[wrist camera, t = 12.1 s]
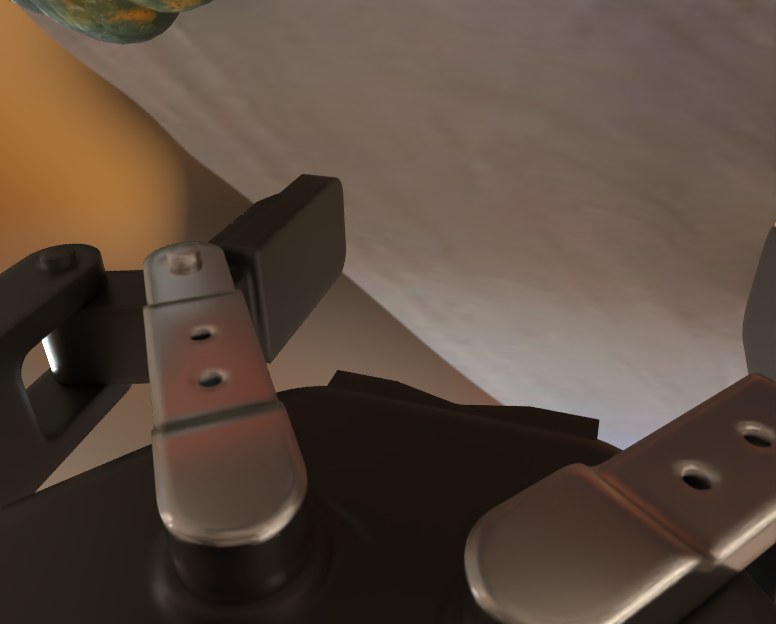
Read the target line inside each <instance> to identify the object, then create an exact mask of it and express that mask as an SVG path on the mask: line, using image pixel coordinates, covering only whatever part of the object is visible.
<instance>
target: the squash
mask: <svg viewBox="0 0 776 624" xmlns="http://www.w3.org/2000/svg"><path fill="white" fill-rule="evenodd" d="M10 1H12V2H14V3H16V4H18V5H20V6H22V7H24V8H26V9H29V10H31V11H33V12H36V13H40V14H44V15H47V16H49V17H50V18H52V19H53V20H55V21H56V22H58V23H59V24H61V25H64V26H66V27H68V28H70V29H72V30H75V31H77V32H80V33H82V34H84V35H87V36H89V37H91V38H93V39H96V40H99V41H103V42H109V43H116V44H131V43H142V42H145V41H148V40H151V39H153V38H154V37H156V36H158V35H160V34H162V33H163V32H164V31H166V30H167V29H168V28H169V27H170V26H171V25H172V23H173V22H174V20H175V19H176V18H177V16H178V15H179V13H180V12H183V11H189V10H192V9H195V8H197V7H199V6H202V5H205V4H207V3H209V2H211V1H212V0H10Z"/></svg>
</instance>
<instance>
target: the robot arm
mask: <svg viewBox="0 0 776 624" xmlns="http://www.w3.org/2000/svg"><path fill="white" fill-rule="evenodd" d="M345 256H346V241H345V222H344V202H343V189H342V184H341V182H340V180H339V179H338V178H336V177H327V176H318V175H309V174H302V175H300V176H299V177H298V178H297V179H296V180H295V181H293V182H292V183H291V184H290V185H289V186H287V187H286V188H285V189H284V190H283V191H282V192H280V193H279V194H275V195H273V196H270V197H268V198H265V199H263V200H261V201H258V202H256V203H255V204H254V205H253V206H251V207H250V208H249V209H248V210H247V211H245V212H244V215H240V216H239V217H238V218H237V219H236V220H234V221H233V224H230V225H228V226H227V227H226V228H225V229H223V230H222V231H221V232H220V233H219V234H217V235H216V236H215V237H214V238H212V239H211V240H210V241H209V242H208V243H206V242H181V243H176V244H171V245H168V246H165V247H162V248H160V249H158V250H155V251H154V252H152V253H151V254H150V255H149V256H147V257H146V258H145V260H144V262H143V270H129V271H105V268H104V264H103V260H102V256H101V253H100V251H99V250H98V249H97V248H95V247H93V246H90V245H85V244H65V245H58V246H53V247H49V248H45V249H42V250H40V251H37V252H35V253H32V254H30V255H29V256H27V257H25V258H24V259H22V260H21V261H20V262H18V263H16V264H15V265H13V266H12V267H10V268H9V269H7V270H6V271H4V272H3V273H1V274H0V624H776V226H773V227H772V228H771V230H770V231H769V234H768V236H767V239H766V242H765V245H764V248H763V252H762V255H761V258H760V262H759V265H758V268H757V272H756V275H755V278H754V282H753V285H752V289H751V292H750V295H749V299H748V302H747V306H746V310H745V315H744V321H743V332H742V335H743V344H744V350H745V356H746V362H747V368H748V374H749V375H748V376H746V377H744V378H743V379H741V380H739V381H738V382H736V383H734V384H733V385H731V386H729V387H728V388H726V389H724V390H723V391H721V392H719V393H718V394H716V395H714V396H713V397H711V398H709V399H708V400H706V401H704V402H703V403H701V404H700V405H698V406H696V407H695V408H693V409H691V410H690V411H688V412H686V413H685V414H683V415H681V416H680V417H678V418H676V419H675V420H673V421H671V422H670V423H668V424H666V425H665V426H663V427H661V428H660V429H658V430H656V431H655V432H653V433H651V434H650V435H648V436H646V437H645V438H643V439H642V440H640V441H638V442H637V443H635V444H633V445H632V446H630V447H628V448H627V449H625V450H621V449H619V448H617V447H615V446H613V445H611V444H609V443H606V442H604V441H601V440H599V439H597V436H598V427H599V419H593V418H588V417H583V416H577V415H572V414H567V413H562V412H556V411H551V410H546V409H541V408H535V407H530V406H491V405H490V406H489V405H460V404H455V403H452V402H449V401H447V400H444V399H441V398H439V397H436V396H434V395H431V394H429V393H426V392H423V391H421V390H418V389H415V388H413V387H411V386H408V385H405V384H402V383H400V382H398V381H393V380H387V379H383V378H377V377H372V376H367V375H361V374H356V373H351V372H346V371H340V370H337V372H336V373H335V375H334V376H333V378H332V379H331V381H330V382H329V384H328V385H327V386H313V387H302V388H295V389H290V390H286V391H281V392H277V393H276V391H275V389H274V385H273V383H272V379H271V376H270V373H269V371H268V368H267V365H266V363H271V362H272V361H273V360H274V358H275V357H276V356H277V355H278V353H279V352H280V351H281V350H282V348H283V347H284V346H285V344H286V343H287V342H288V341H289V339H290V338H291V337H292V336H293V334H294V333H295V332H296V331H297V329H298V328H299V327H300V326H301V324H302V323H303V322H304V320H305V319H306V318H307V317H308V316H309V314H310V313H311V312H312V310H313V309H314V308H315V307H316V305H317V304H318V303H319V302H320V300H321V299H322V298H323V297H324V295H325V294H326V293H327V292H328V290H329V289H330V288H331V287H332V285H333V284H334V283H335V282H336V280H337V279H338V278H339V276H340V274H341V272H342V270H343V266H344V262H345ZM40 341H42V342H43V345H44V348H45V351H46V354H47V357H48V360H49V363H50V366H51V368H49V369H48V370H47V371H46V372H45V373H44V374H43V375H42V376H41V377H39V378H38V379H37V380H36V381H35V382H34V383H33V384H32V385H30V386H29V387H28V388H27V389H26V390H25V387H24V384H23V381H22V377H21V368H22V364H23V361H24V358H25V356H26V355H27V354H28V352H29V351H30V350H31V349H32V348H33V347H35V346H36V345H37V344H38V343H39V342H40ZM141 383H150V390H151V400H152V413H153V424H154V429H153V430H152V433H151V435H152V436H151V438H152V444H150V445H148V446H146V447H143V448H141V449H138V450H136V451H133V452H131V453H129V454H126V455H124V456H122V457H119V458H117V459H114V460H112V461H110V462H107V463H105V464H102V465H100V466H98V467H95V468H93V469H91V470H88V471H86V472H83V473H81V474H79V475H76V476H74V477H72V478H69V479H67V480H64V481H62V482H60V483H58V484H55V485H53V486H51V487H48V488H45V489H43V490H41V491H38V492H36V490H37V489H38V488H39V487H40V486H41V485H42V484H43V483H44V482H45V481H46V480H47V478H48V477H49V476H50V475H51V474H52V473H53V472H54V471H55V470H56V469H57V468H58V466H59V465H60V464H61V463H62V462H63V461H64V460H65V459H66V458H67V457H68V456H69V455H70V453H71V452H72V451H73V450H74V449H75V448H76V447H77V446H78V445H79V444H80V442H82V440H83V439H84V438H85V437H86V436H87V435H88V434H89V432H91V431H92V430H93V428H94V427H95V426H96V425H97V424H98V423H99V422H100V421H101V420H102V419H103V418H104V416H105V415H106V414H107V413H108V412H109V411H110V410H111V409H112V408H113V407H114V406H115V405H116V403H117V402H118V401H119V400H120V399H121V398H122V397H123V396H124V395H125V394H126V393H127V391H128V390H129V389H130V387H131V385H132V384H141ZM35 492H36V493H35Z"/></svg>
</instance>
